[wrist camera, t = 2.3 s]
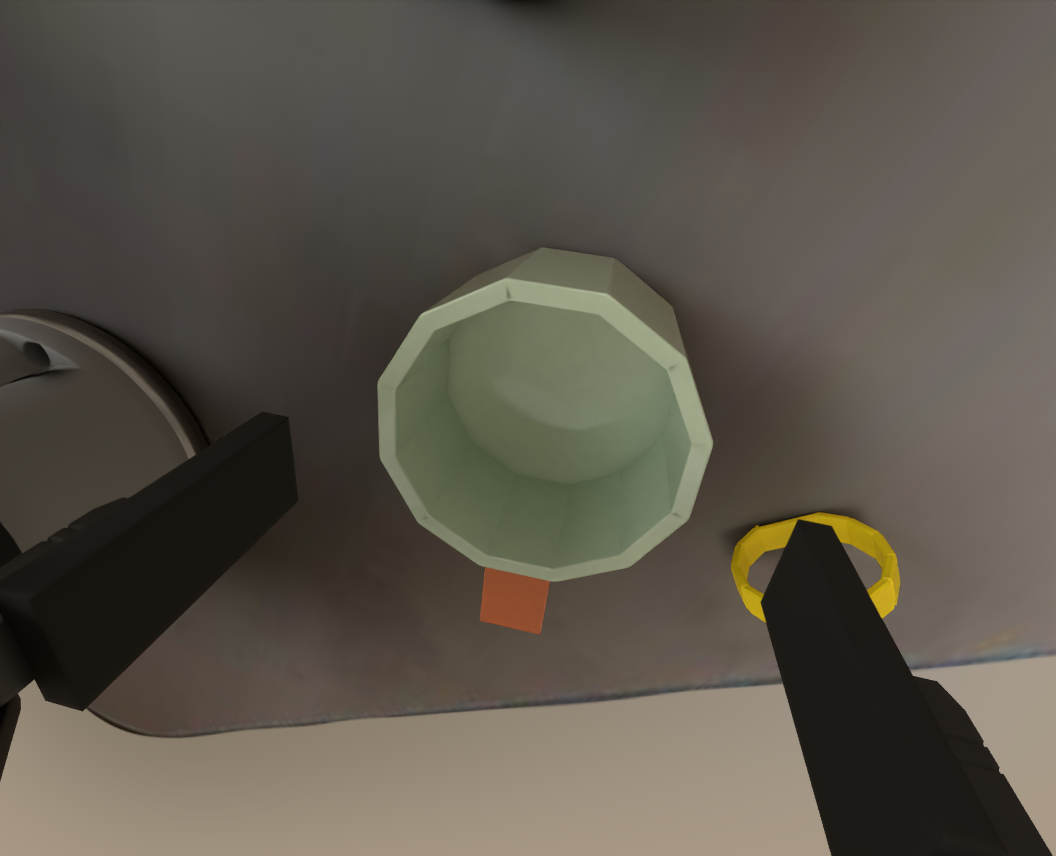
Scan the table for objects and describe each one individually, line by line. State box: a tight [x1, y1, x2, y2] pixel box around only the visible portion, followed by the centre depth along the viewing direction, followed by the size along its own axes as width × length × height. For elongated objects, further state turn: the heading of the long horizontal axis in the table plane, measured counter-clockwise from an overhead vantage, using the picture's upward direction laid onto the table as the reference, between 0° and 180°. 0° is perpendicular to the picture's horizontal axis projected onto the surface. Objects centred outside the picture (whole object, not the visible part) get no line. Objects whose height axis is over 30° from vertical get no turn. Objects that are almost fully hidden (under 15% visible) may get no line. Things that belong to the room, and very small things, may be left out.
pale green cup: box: [377, 247, 714, 634], centre depth 19 cm, size 13×10×6 cm
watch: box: [731, 512, 900, 623], centre depth 21 cm, size 6×3×6 cm, turn 112°
